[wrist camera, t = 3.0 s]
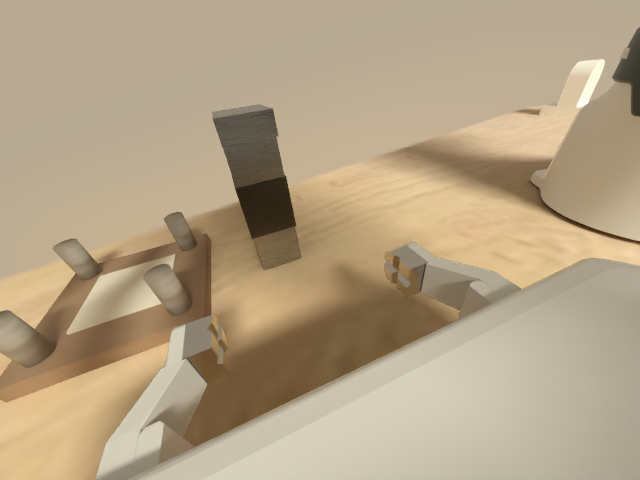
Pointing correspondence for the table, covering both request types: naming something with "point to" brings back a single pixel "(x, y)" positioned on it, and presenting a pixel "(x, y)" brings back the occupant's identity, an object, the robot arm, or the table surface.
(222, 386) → the table surface
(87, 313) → the peg cradle
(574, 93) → the cable organizer
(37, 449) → the table surface
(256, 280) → the table surface
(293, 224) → the grey rectangular block
